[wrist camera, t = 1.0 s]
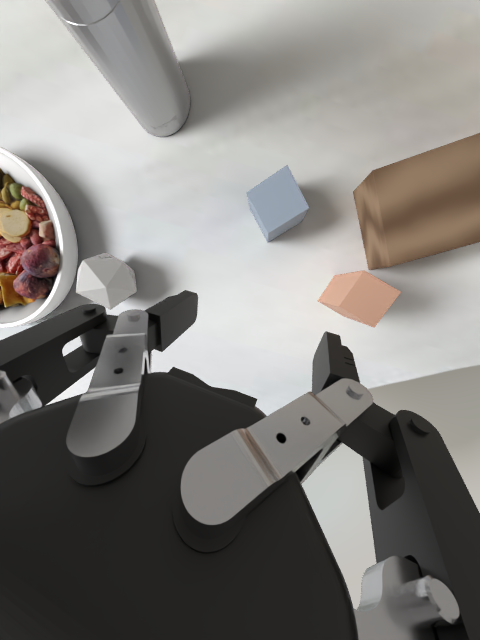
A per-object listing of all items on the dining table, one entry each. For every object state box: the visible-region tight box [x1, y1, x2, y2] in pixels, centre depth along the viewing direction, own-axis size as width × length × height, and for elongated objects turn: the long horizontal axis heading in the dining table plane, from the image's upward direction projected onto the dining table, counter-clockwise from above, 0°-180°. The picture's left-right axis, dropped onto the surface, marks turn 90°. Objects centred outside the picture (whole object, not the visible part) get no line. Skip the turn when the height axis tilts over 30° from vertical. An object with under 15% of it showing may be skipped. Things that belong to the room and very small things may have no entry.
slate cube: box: [247, 165, 309, 242], centre depth 30 cm, size 6×6×6 cm
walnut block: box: [353, 133, 480, 270], centre depth 28 cm, size 12×12×6 cm
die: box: [76, 253, 137, 310], centre depth 34 cm, size 8×9×10 cm
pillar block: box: [318, 271, 401, 327], centre depth 28 cm, size 5×5×10 cm
